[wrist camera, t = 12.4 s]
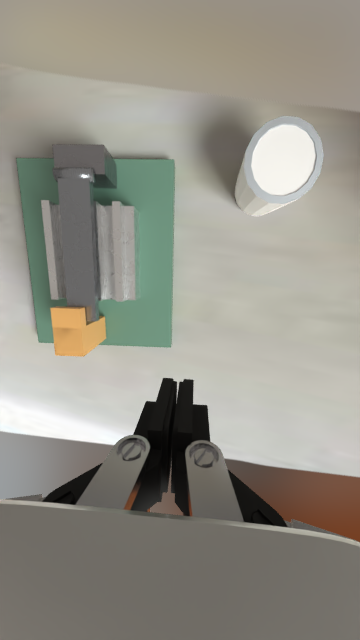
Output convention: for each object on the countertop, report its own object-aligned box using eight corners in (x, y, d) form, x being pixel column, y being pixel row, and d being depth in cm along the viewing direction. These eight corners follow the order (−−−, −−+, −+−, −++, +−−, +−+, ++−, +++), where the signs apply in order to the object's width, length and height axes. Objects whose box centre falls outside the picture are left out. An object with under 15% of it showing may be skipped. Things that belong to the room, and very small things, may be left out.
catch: (104, 300, 27) (80, 308, 21) (106, 338, 28) (83, 356, 22) (80, 300, 27) (50, 308, 21) (83, 337, 28) (55, 355, 22)
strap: (59, 170, 21) (51, 164, 20) (96, 171, 21) (90, 165, 20) (70, 318, 24) (64, 320, 22) (102, 319, 24) (98, 322, 22)
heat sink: (138, 164, 24) (128, 143, 20) (140, 297, 27) (132, 302, 23) (51, 163, 24) (24, 142, 20) (63, 295, 28) (42, 299, 24)
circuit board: (174, 166, 25) (174, 159, 24) (171, 343, 30) (170, 347, 29) (25, 164, 26) (16, 157, 24) (45, 339, 31) (38, 342, 29)
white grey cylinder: (260, 233, 27) (284, 220, 20) (217, 196, 26) (227, 169, 19) (300, 184, 25) (341, 152, 18) (256, 144, 25) (282, 94, 18)
